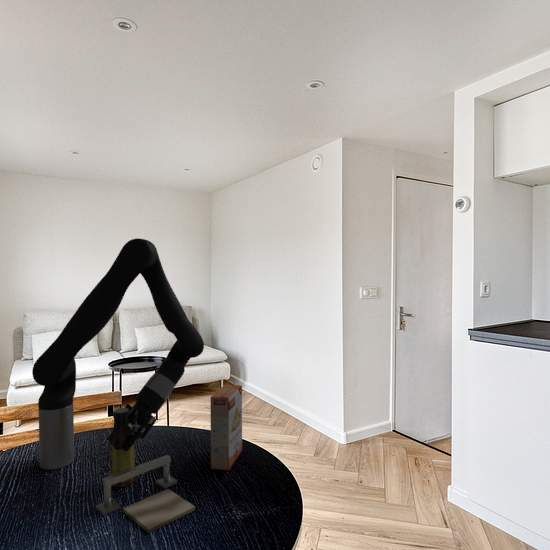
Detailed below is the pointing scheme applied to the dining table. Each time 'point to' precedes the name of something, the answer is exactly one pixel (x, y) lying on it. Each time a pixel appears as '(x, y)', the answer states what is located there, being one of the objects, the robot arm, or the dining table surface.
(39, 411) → the robot arm
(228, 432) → the cracker box
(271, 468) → the dining table surface
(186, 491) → the dining table surface
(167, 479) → the grey bar handle
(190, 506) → the birch pad
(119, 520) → the dining table surface
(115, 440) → the sauce bottle
